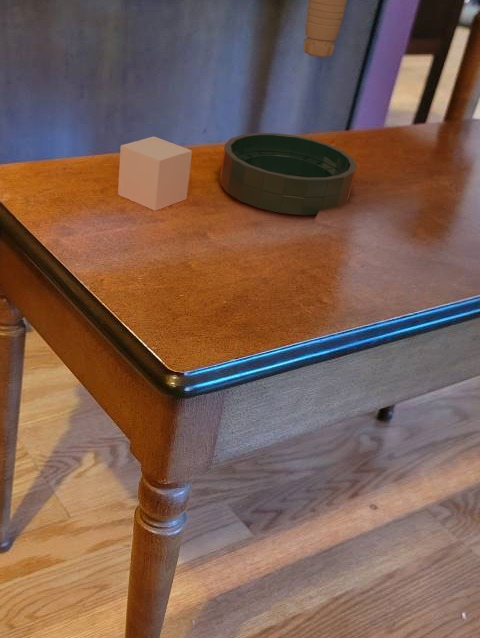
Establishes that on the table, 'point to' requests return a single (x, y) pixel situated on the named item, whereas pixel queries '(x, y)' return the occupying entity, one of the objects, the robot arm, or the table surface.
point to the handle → (323, 26)
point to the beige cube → (154, 172)
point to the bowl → (286, 173)
